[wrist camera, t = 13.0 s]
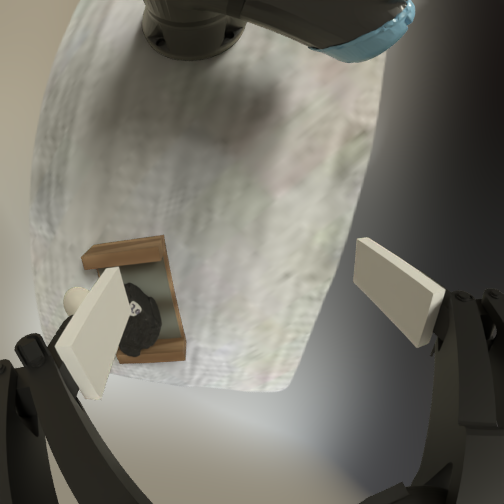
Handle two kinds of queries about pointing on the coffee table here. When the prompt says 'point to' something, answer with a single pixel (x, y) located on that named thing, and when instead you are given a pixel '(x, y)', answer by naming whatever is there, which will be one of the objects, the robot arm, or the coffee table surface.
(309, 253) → the coffee table surface
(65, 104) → the coffee table surface
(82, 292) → the cream glossy rounded part
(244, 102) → the coffee table surface
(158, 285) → the rest
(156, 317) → the mineral
